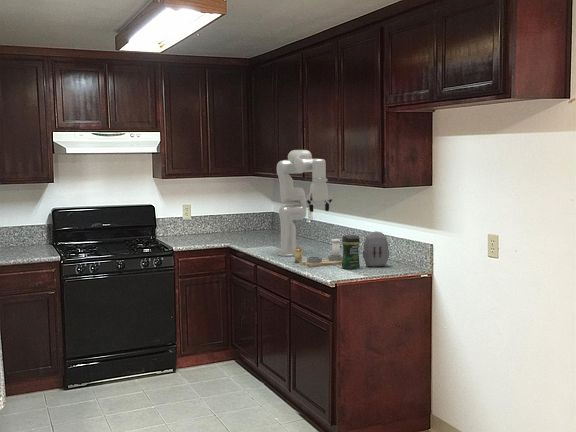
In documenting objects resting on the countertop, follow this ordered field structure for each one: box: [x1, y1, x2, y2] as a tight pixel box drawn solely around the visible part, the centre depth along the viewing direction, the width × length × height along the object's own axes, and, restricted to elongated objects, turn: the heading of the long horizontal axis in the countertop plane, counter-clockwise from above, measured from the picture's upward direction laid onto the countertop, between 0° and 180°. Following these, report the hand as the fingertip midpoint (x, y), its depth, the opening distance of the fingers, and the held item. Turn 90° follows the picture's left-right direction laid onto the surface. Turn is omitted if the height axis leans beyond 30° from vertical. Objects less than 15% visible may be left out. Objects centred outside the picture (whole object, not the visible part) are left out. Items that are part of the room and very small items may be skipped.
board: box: [299, 258, 342, 268], centre depth 376 cm, size 14×24×2 cm, turn 113°
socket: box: [306, 256, 323, 263], centre depth 373 cm, size 8×8×2 cm
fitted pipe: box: [327, 238, 343, 261], centre depth 378 cm, size 8×8×12 cm
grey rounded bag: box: [362, 231, 390, 268], centre depth 363 cm, size 15×8×20 cm, turn 92°
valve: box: [294, 247, 304, 264], centre depth 381 cm, size 6×5×9 cm
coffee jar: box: [341, 234, 361, 270], centre depth 359 cm, size 10×8×19 cm
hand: (319, 211), depth 366 cm, fingers open, 9 cm apart
